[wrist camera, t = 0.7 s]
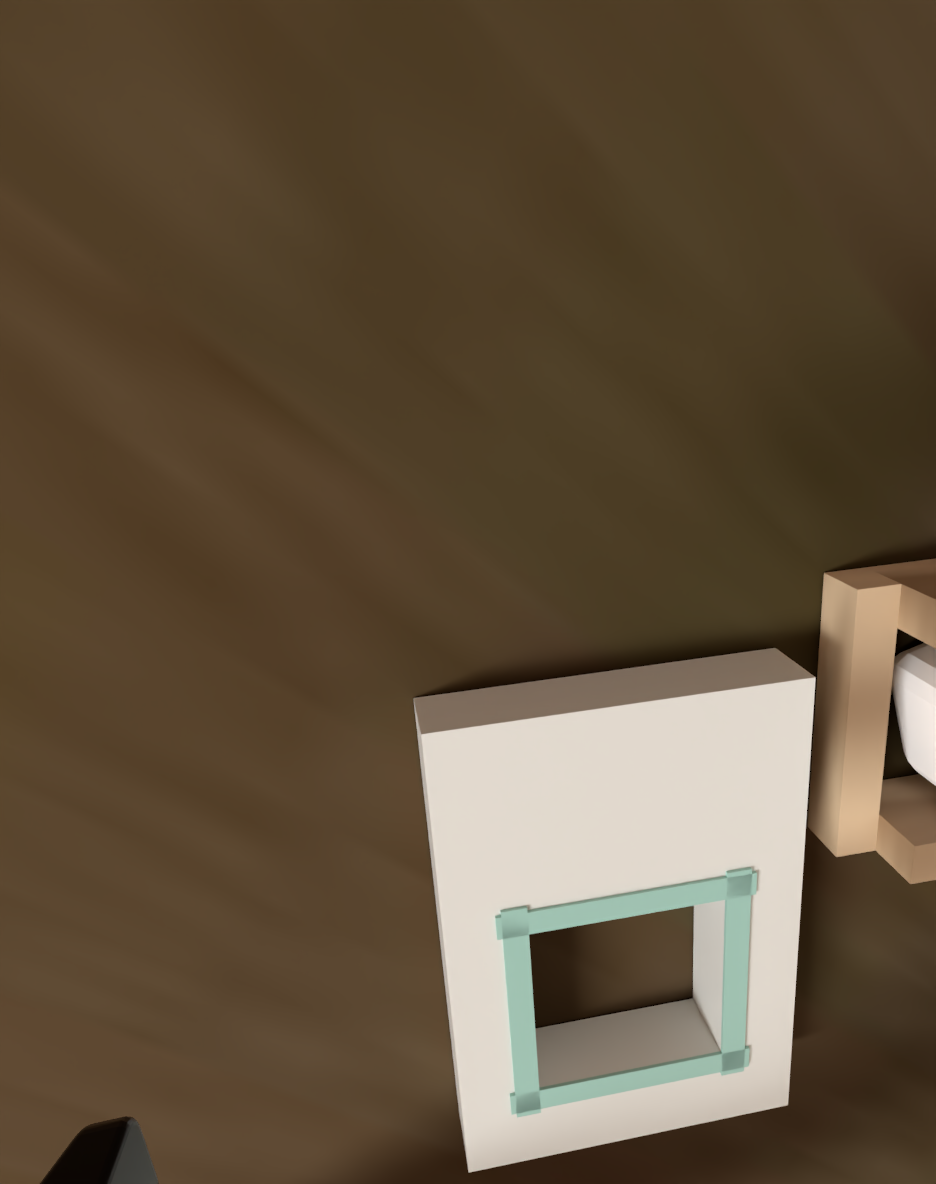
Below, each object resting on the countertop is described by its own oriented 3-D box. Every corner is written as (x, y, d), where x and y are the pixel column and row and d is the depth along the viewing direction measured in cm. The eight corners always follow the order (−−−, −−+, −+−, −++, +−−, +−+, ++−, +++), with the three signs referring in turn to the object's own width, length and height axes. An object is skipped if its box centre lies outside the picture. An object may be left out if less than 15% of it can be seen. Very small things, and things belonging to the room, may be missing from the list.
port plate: (756, 1051, 27) (789, 1108, 25) (458, 1111, 26) (469, 1175, 24) (775, 647, 22) (817, 678, 20) (413, 697, 21) (421, 736, 19)
